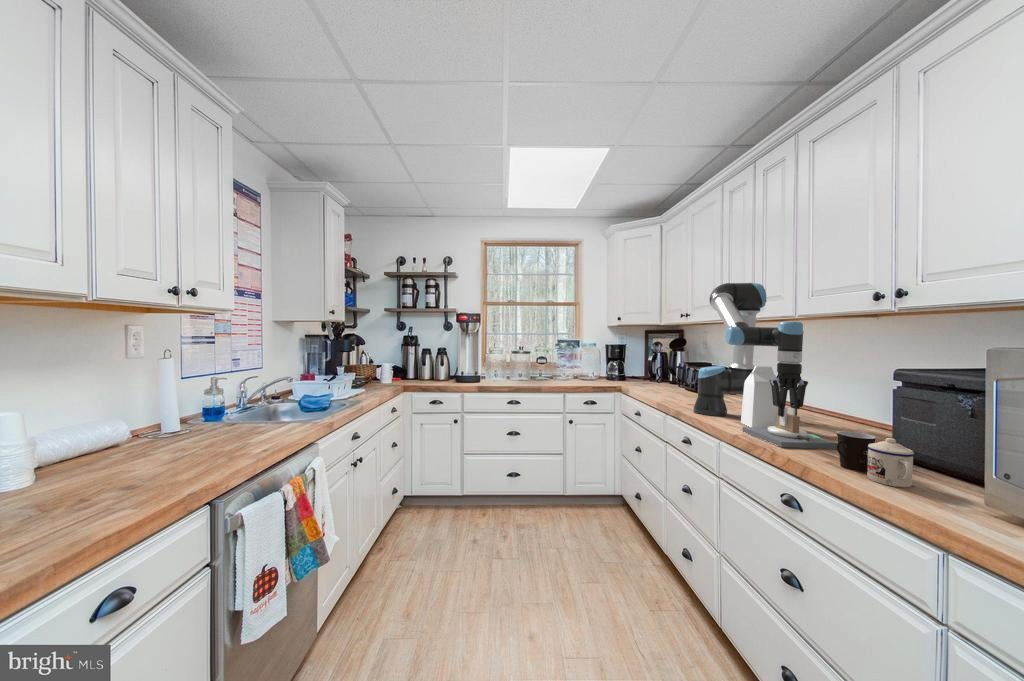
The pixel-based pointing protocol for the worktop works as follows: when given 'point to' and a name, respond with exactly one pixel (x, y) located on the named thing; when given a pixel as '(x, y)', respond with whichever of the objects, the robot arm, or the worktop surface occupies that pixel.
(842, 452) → the coffee mug
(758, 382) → the milk
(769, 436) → the dial board
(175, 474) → the worktop surface
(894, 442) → the teacup with lid
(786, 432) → the dial
